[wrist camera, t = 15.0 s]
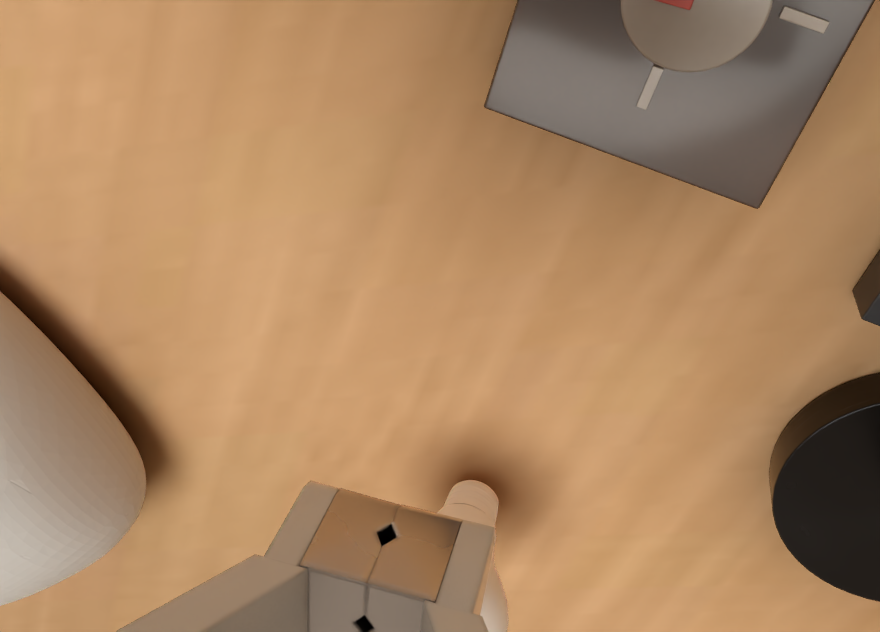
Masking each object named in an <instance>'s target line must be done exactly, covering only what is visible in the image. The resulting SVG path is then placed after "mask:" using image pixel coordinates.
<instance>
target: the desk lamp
mask: <svg viewBox="0 0 880 632" xmlns="http://www.w3.org/2000/svg"><path fill="white" fill-rule="evenodd" d="M769 483H770V493H771V502H772V511H773V516H774V521H775V525H776V528H777V530H778V532H779V535H780V537H781V539H782V540H783V542H784V544H785V545H786V547H787V548H788V550H789V551H790V552H791V553H792V555H793V556H794V557H795V558H796V559H797V560H798V561H799V562H800V563H801V564H802V565H803V566H804V567H805V568H806V569H808V570H809V571H810V572H812V573H813V574H814V575H816V576H817V577H819V578H820V579H822V580H823V581H825V582H827V583H829V584H831V585H833V586H834V587H836V588H839V589H841V590H844V591H846V592H848V593H851V594H854V595H857V596H860V597H863V598H866V599H870V600H875V601H879V602H880V373H878V374H874V375H870V376H865V377H862V378H859V379H856V380H853V381H850V382H847V383H845V384H843V385H841V386H839V387H836V388H834V389H832V390H830V391H828V392H827V393H825V394H823V395H822V396H820V397H818V398H817V399H815V400H814V401H812V402H811V403H810V404H808V405H807V406H806V407H805V408H803V409H802V410H801V411H800V412H799V413H798V414H797V415H796V416H795V417H794V418H793V419H792V420H791V421H790V423H789V424H788V425H787V427H786V428H785V429H784V431H783V432H782V433H781V435H780V437H779V439H778V441H777V443H776V445H775V447H774V450H773V453H772V457H771V461H770V468H769Z"/></svg>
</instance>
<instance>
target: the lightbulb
mask: <svg viewBox="0 0 880 632" xmlns="http://www.w3.org/2000/svg"><path fill="white" fill-rule="evenodd" d="M498 506H499V501H498V497H497V495H496V494H495V492H494V491H493V490H492V489H491V488H490V487H489V486H488V485H486V484H484V483H482V482H480V481H476V480H465V481H461V482H459V483H457V484H455V485H454V486H453V488H452V489H451V491H450V492H449V495H448V497H447V499H446V501H445V503H444V505H443V508H441V509H440V510H439V511H438V512H437V513H439V514H443V515H447V516H451V517H455V518H459V519H463V520H467V521H471V522H475V523H479V524H483V525H487V526H492V527H495V523H496V517H497V513H498ZM495 542H496V534H495V539H494V545H493V551H492V556H491V562H490V567H489V573H488V578H487V584H486V588H485V593H484V598H483V603H482V608H481V613H480V616H482V617H483V619H484V622H485V624H486V627H487V629H488V632H507V628H508V605H507V599H506V596H505V592H504V589H503V586H502V583H501V580H500V578H499V575H498V573H497V570H496V568H495V563H494V547H495Z"/></svg>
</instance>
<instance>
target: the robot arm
mask: <svg viewBox="0 0 880 632" xmlns="http://www.w3.org/2000/svg"><path fill="white" fill-rule="evenodd" d="M495 534H496V528H495V527H492V526H487V525H483V524H479V523H475V522H471V521H467V520H463V519H459V518H455V517H451V516H447V515H443V514H439V513H434V512H430V511H426V510H422V509H418V508H414V507H410V506H405V505H399V504H395V503H392V502H388V501H384V500H381V499H377V498H374V497H370V496H367V495H363V494H359V493H356V492H352V491H349V490H345V489H342V488H341V489H340V488H336V487H332V486H329V485H325V484H322V483H318V482H314V481H310V482H309V483H307V484H306V485H305V486H304V487H303V489H302V490H301V492H300V494H299V496H298V497H297V499H296V501H295V503H294V504H293V506H292V508H291V510H290V511H289V513H288V515H287V517H286V518H285V520H284V522H283V524H282V525H281V527H280V529H279V531H278V532H277V534H276V536H275V538H274V539H273V541H272V543H271V545H270V546H269V548H268V550H267V552H266V553H265V555H264V557H263V556H259V555H253V556H251V557H249V558H247V559H246V560H244V561H242V562H240V563H238V564H236V565H235V566H233V567H231V568H229V569H227V570H226V571H224V572H222V573H220V574H218V575H217V576H215V577H213V578H211V579H209V580H208V581H206V582H204V583H202V584H200V585H198V586H197V587H195V588H193V589H191V590H189V591H188V592H186V593H184V594H182V595H180V596H179V597H177V598H175V599H173V600H171V601H170V602H168V603H166V604H164V605H162V606H161V607H159V608H157V609H155V610H153V611H151V612H150V613H148V614H146V615H144V616H142V617H141V618H139V619H137V620H135V621H133V622H132V623H130V624H128V625H126V626H124V627H123V628H121V629H119V630H117V632H488V629H487V627H486V624H485V622H484V619H483V617H482V616H480V613H481V608H482V603H483V598H484V593H485V588H486V584H487V578H488V573H489V567H490V562H491V556H492V551H493V545H494V539H495Z"/></svg>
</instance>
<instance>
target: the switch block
mask: <svg viewBox="0 0 880 632" xmlns="http://www.w3.org/2000/svg"><path fill="white" fill-rule="evenodd" d="M853 294H854V297H855V300H856V303H857V306H858V309H859V312H860V316H861V318H862V319H863V320H865V321H868V322H871V323H873V324H876V325H878V326H880V251H879V252H878V254H877V255H876V257H875V258H874V260H873V261H872V263H871V264H870V266H869V267H868V269H867V270H866V272H865V273H864V275H863V276H862V278H861V279H860V281H859V282H858V283H857V285H856V286H855V288H854V289H853Z"/></svg>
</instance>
